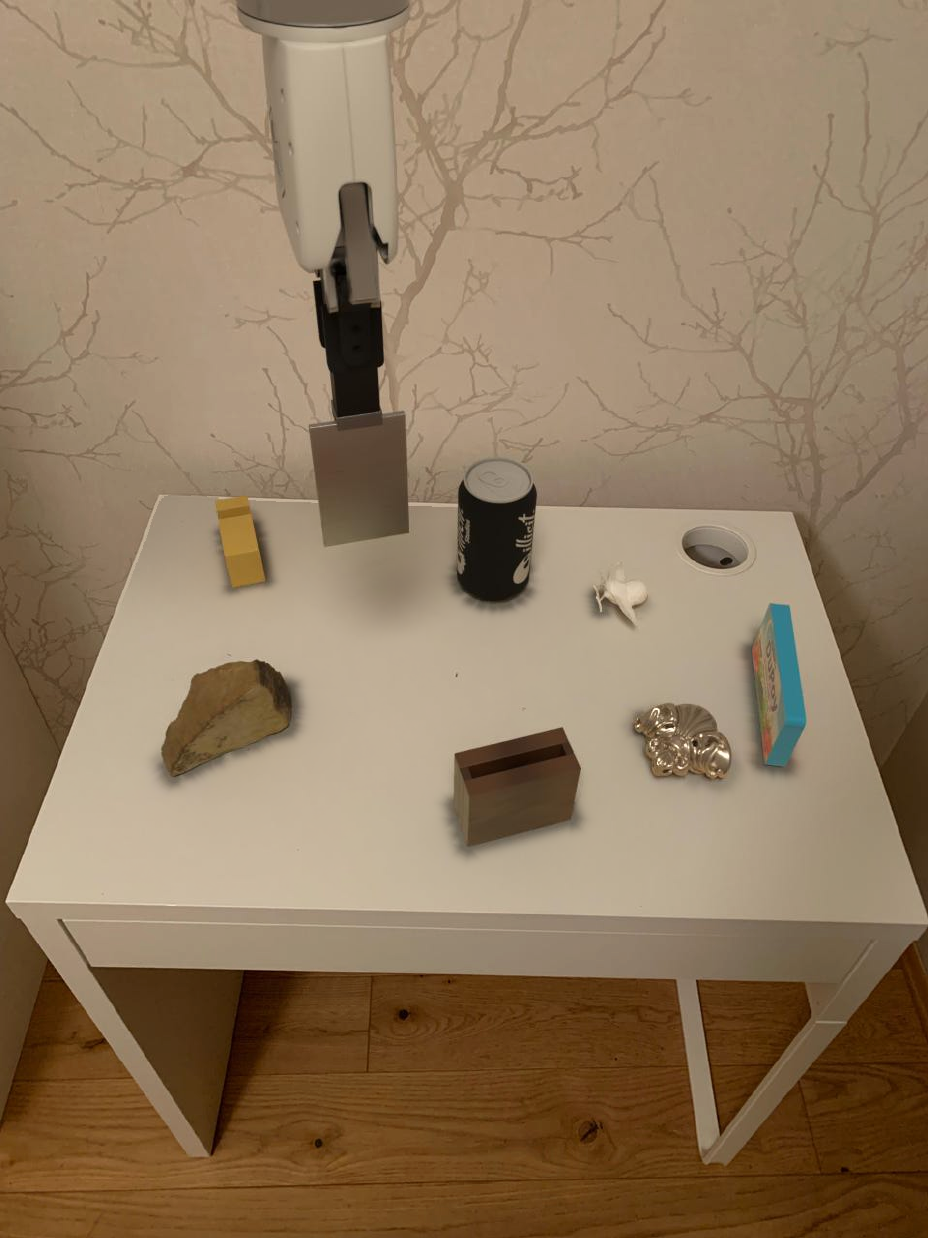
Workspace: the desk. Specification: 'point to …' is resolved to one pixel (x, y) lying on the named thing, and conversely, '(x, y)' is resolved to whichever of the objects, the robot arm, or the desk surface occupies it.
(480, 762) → the knife block
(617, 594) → the toy bird
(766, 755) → the blue product box
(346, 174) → the robot arm
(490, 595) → the beverage can
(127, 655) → the desk surface
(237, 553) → the butter block
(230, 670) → the rock
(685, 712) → the ornament
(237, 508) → the butter slice
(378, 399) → the knife
